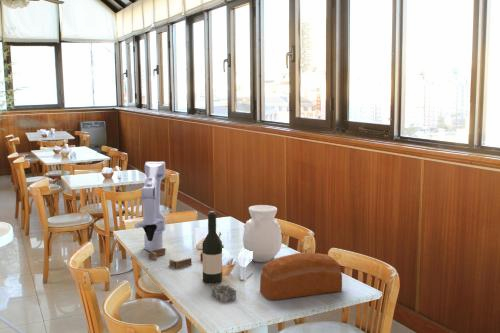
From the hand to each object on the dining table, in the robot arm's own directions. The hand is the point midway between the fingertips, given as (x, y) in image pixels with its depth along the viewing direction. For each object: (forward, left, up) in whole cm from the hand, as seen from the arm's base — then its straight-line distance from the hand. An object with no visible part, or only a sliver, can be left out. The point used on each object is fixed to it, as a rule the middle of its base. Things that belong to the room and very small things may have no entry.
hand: (150, 240), depth 269 cm
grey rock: (+57, -3, -10) cm, 58 cm away
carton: (+14, +26, -10) cm, 31 cm away
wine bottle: (+40, +5, -10) cm, 42 cm away
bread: (+73, +24, -10) cm, 78 cm away
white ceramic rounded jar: (+33, +41, -10) cm, 54 cm away
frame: (+6, +7, -10) cm, 13 cm away
